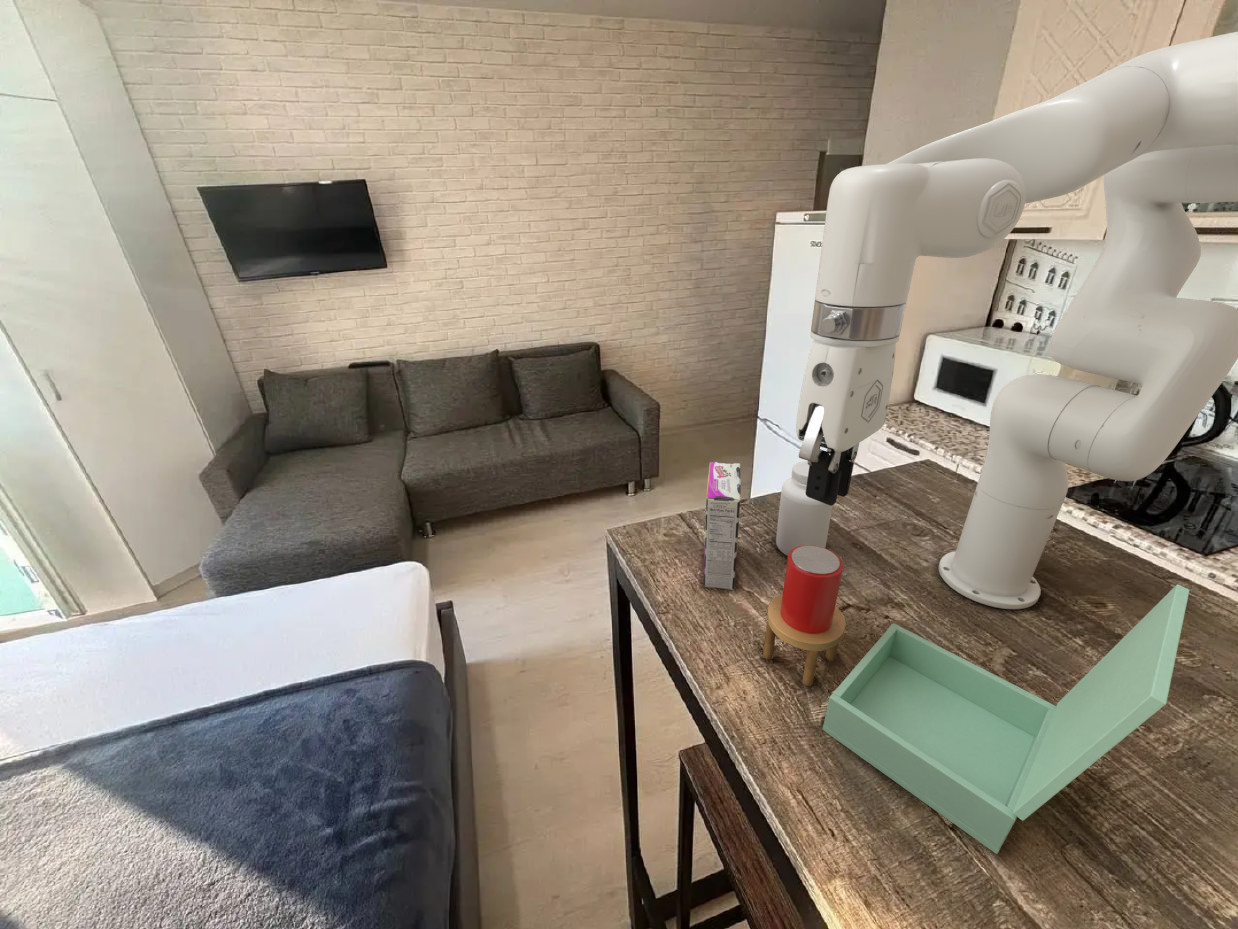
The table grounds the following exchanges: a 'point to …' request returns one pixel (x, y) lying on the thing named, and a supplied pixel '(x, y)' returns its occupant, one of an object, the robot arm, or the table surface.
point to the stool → (803, 638)
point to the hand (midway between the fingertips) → (826, 494)
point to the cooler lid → (1107, 702)
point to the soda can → (811, 588)
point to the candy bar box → (722, 525)
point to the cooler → (941, 730)
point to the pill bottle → (801, 514)
